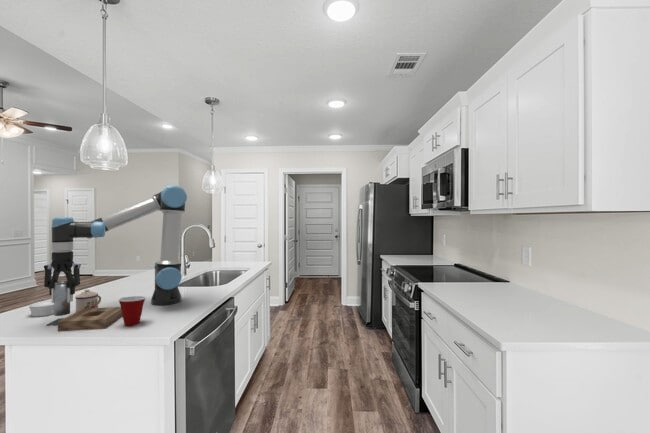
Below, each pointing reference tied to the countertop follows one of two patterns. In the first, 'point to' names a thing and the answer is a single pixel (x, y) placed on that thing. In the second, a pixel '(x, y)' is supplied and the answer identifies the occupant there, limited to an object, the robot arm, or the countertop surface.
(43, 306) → the ramekin
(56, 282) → the grey metal cylinder
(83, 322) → the frame
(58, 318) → the pad
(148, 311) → the countertop surface
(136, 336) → the countertop surface
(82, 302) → the teacup with lid
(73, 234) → the robot arm
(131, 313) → the plastic cup
